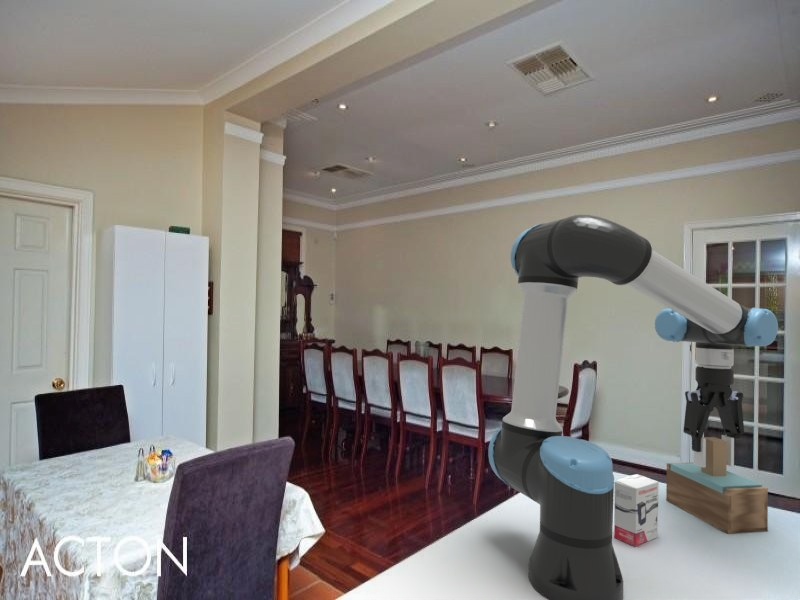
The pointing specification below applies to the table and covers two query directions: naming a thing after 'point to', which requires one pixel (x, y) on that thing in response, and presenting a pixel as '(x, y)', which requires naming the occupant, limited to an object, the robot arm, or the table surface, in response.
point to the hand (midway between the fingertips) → (713, 464)
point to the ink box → (636, 509)
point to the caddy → (720, 504)
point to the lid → (714, 469)
